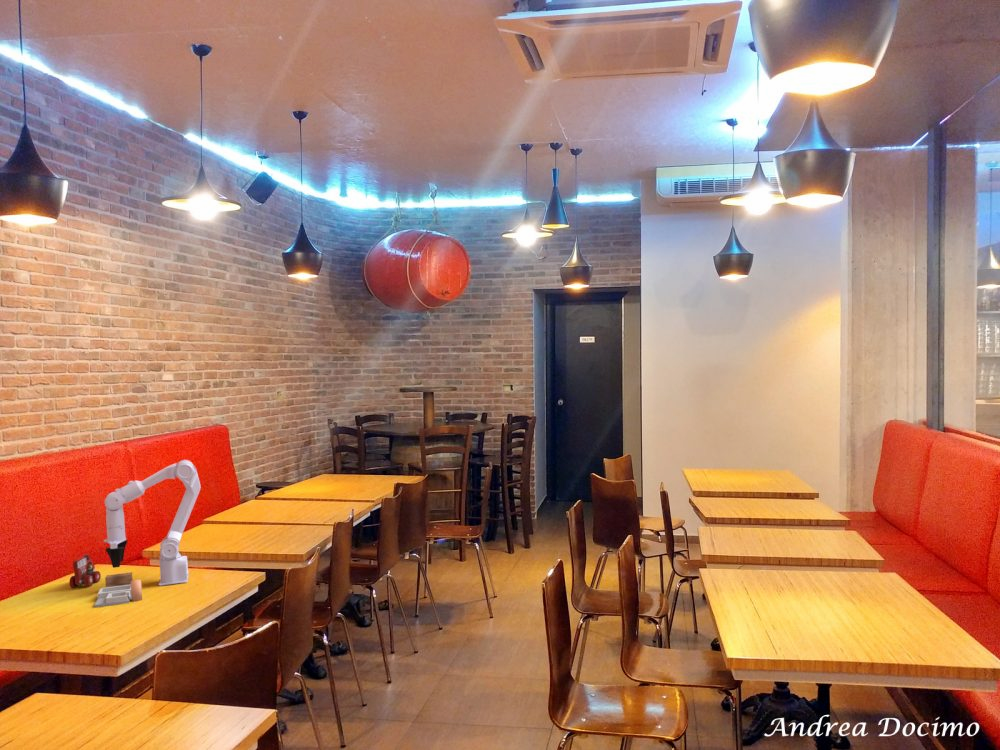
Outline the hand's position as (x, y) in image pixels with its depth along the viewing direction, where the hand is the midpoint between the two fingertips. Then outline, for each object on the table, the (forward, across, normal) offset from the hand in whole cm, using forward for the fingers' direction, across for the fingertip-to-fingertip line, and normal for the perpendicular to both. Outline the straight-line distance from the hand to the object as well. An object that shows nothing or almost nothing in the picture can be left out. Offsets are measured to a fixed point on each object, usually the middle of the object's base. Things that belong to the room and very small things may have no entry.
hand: (118, 564), depth 277 cm
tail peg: (+9, +16, +8) cm, 20 cm away
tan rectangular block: (+9, 0, 0) cm, 9 cm away
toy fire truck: (+9, -13, -13) cm, 20 cm away
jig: (+9, +12, 0) cm, 15 cm away
